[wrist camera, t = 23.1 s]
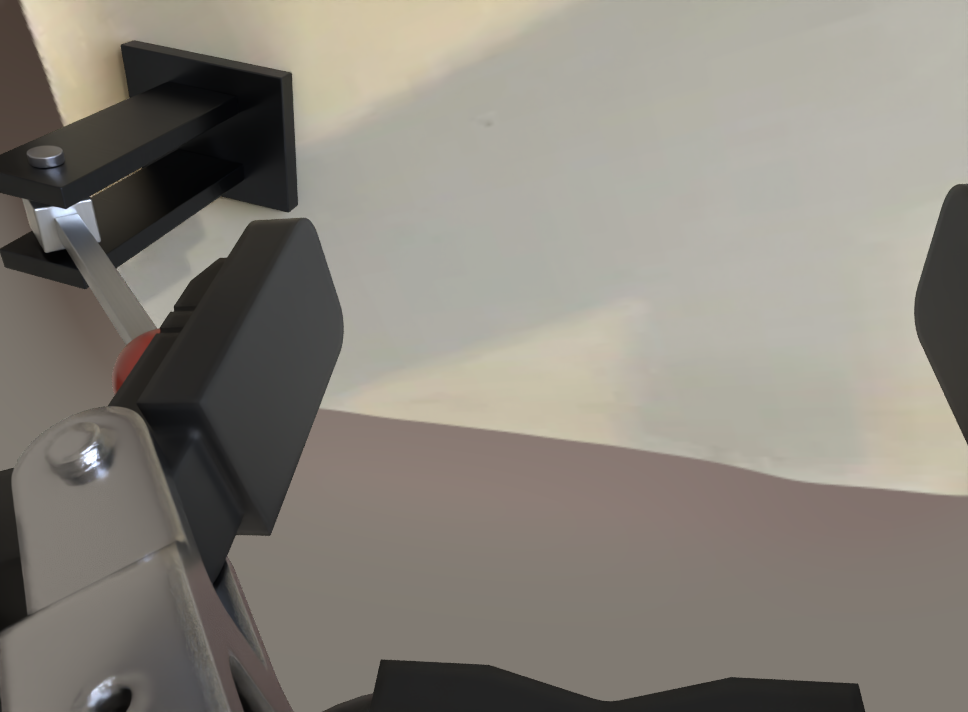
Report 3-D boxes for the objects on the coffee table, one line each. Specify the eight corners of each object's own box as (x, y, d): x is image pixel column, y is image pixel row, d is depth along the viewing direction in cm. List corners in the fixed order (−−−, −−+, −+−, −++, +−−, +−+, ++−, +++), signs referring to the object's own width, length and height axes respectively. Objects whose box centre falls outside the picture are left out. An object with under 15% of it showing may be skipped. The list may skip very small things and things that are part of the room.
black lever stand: (292, 72, 42) (112, 168, 30) (298, 205, 47) (144, 332, 35) (133, 39, 44) (-95, 118, 32) (155, 171, 49) (-37, 281, 37)
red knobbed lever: (235, 349, 26) (122, 383, 24) (244, 429, 28) (142, 466, 26) (85, 158, 36) (-2, 172, 34) (100, 227, 38) (19, 243, 36)
